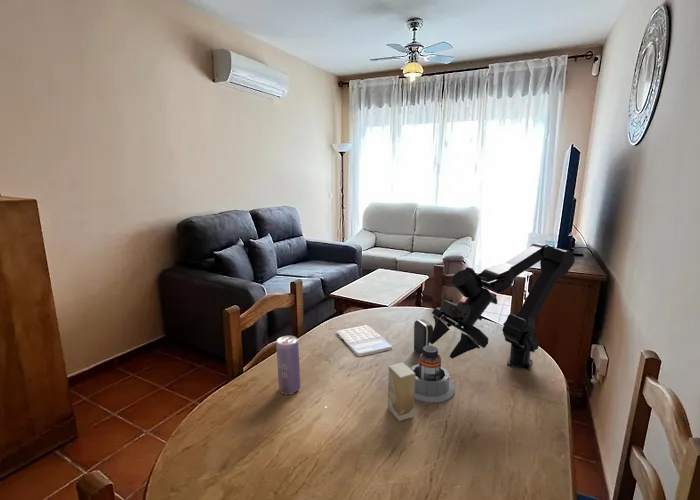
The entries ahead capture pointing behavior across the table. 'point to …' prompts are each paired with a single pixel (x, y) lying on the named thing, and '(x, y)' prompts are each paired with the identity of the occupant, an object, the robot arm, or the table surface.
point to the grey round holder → (433, 387)
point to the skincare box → (401, 391)
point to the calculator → (364, 340)
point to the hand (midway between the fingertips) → (440, 350)
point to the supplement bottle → (430, 364)
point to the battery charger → (422, 335)
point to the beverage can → (288, 364)
